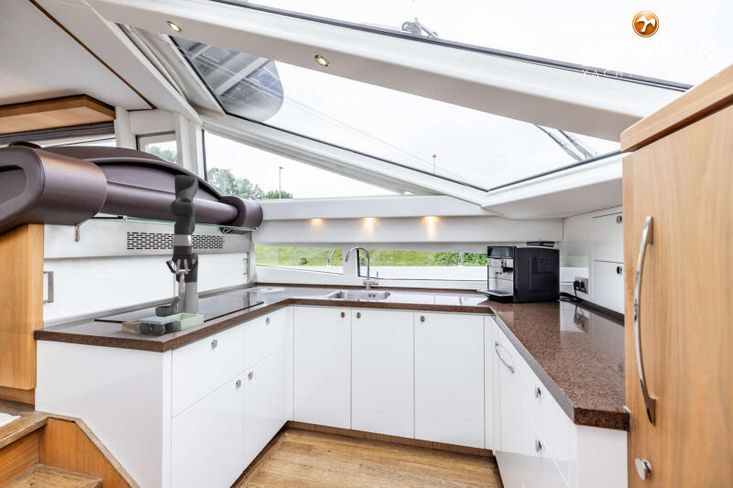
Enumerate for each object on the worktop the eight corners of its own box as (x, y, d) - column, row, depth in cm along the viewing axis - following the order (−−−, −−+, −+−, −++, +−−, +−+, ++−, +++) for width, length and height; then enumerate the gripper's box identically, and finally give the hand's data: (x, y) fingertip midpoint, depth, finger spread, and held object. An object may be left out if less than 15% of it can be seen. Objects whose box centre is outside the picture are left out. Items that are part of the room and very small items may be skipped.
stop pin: (181, 292, 152) (182, 271, 152) (186, 292, 151) (186, 271, 151) (177, 293, 150) (178, 271, 150) (181, 293, 149) (182, 271, 149)
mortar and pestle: (151, 323, 155) (152, 298, 156) (158, 319, 164) (158, 295, 165) (178, 322, 159) (178, 297, 159) (183, 318, 168) (183, 294, 168)
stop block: (137, 327, 147) (137, 319, 147) (149, 329, 145) (149, 320, 145) (122, 331, 140) (122, 322, 140) (134, 333, 138) (134, 323, 138)
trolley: (138, 333, 137) (138, 319, 138) (153, 329, 144) (153, 316, 144) (161, 336, 134) (162, 321, 134) (176, 332, 141) (176, 318, 141)
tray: (181, 322, 159) (181, 313, 159) (203, 324, 155) (203, 314, 155) (157, 328, 146) (158, 318, 146) (181, 331, 142) (181, 320, 142)
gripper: (199, 245, 157) (198, 280, 157) (165, 244, 151) (164, 281, 151) (199, 245, 151) (199, 282, 151) (164, 244, 144) (163, 283, 144)
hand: (182, 281), depth 151 cm, fingers closed on stop pin, 2 cm apart
